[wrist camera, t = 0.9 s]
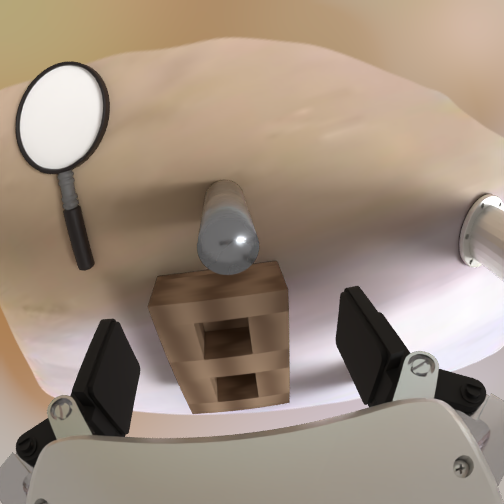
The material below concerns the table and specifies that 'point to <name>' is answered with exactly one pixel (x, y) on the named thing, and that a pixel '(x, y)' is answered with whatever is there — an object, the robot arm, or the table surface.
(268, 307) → the brown rectangular block
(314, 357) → the table surface
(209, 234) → the steel pin
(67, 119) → the magnifying glass
